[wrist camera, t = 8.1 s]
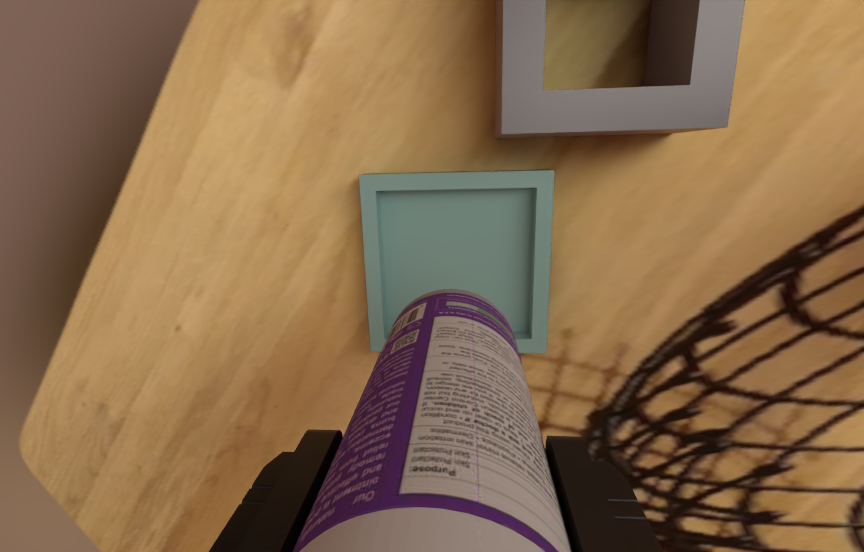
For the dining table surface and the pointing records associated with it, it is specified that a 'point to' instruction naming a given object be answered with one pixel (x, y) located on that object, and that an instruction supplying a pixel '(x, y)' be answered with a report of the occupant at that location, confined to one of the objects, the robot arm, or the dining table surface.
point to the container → (441, 444)
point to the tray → (459, 244)
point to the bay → (631, 106)
